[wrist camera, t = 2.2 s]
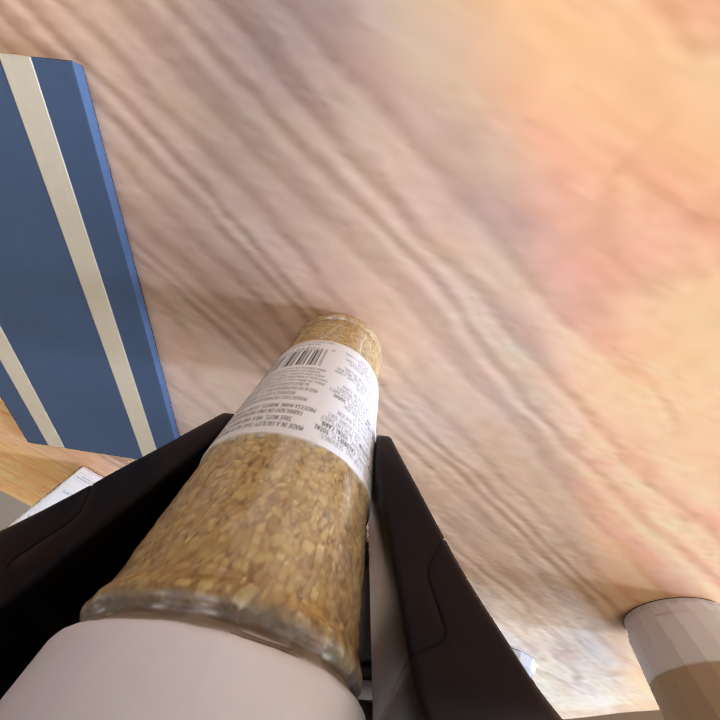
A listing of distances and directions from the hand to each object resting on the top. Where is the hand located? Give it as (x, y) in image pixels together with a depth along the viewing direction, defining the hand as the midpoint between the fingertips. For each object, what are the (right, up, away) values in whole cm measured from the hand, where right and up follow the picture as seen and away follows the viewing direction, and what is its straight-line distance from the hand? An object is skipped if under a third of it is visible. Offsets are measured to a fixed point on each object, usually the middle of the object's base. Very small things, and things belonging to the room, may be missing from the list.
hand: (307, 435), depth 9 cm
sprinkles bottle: (+1, +3, +6) cm, 6 cm away
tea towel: (-15, +5, +6) cm, 17 cm away
